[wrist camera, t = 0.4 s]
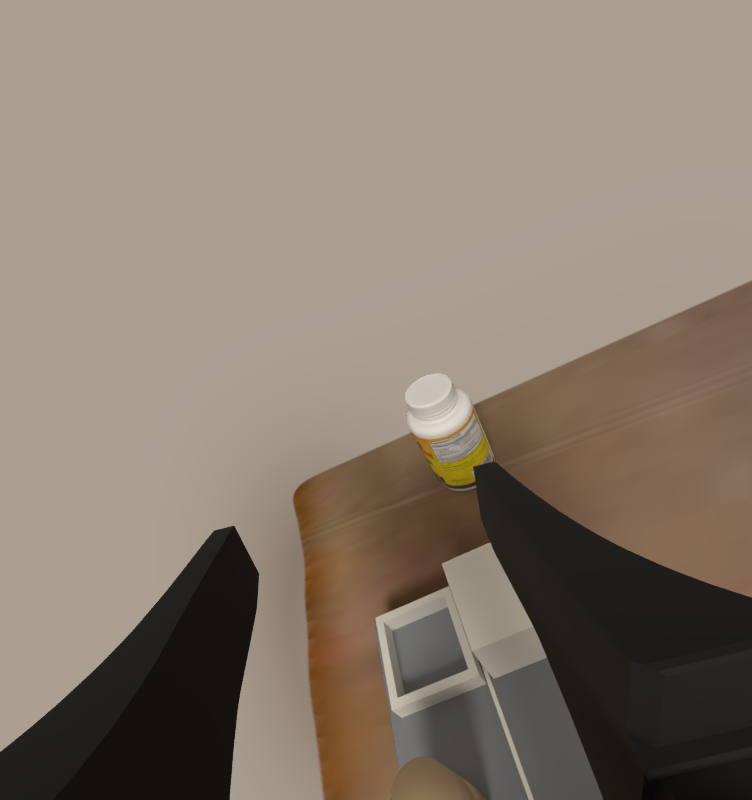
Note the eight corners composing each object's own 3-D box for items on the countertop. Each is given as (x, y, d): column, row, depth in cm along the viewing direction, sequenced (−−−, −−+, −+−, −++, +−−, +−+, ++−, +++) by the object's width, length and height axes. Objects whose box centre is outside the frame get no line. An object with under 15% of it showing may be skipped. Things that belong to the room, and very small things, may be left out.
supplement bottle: (438, 452, 42) (398, 376, 36) (494, 440, 40) (461, 358, 34) (437, 499, 38) (391, 421, 32) (499, 488, 36) (463, 404, 30)
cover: (579, 644, 24) (566, 612, 22) (493, 679, 25) (471, 651, 22) (534, 563, 29) (519, 529, 26) (462, 594, 29) (441, 563, 27)
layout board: (710, 845, 18) (713, 833, 16) (437, 936, 20) (402, 937, 17) (546, 563, 30) (534, 531, 27) (382, 634, 31) (356, 609, 29)
